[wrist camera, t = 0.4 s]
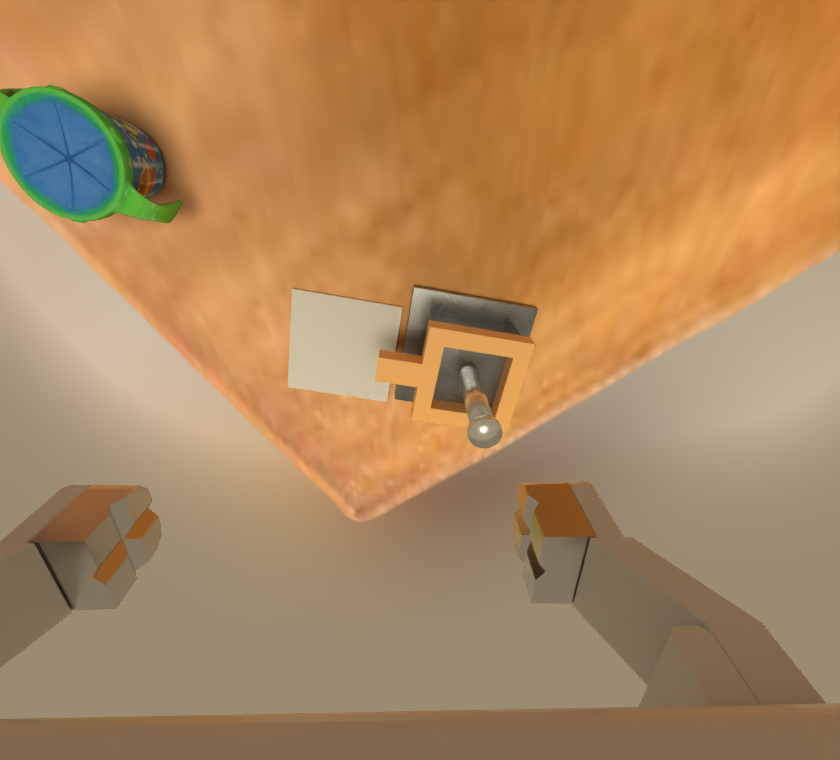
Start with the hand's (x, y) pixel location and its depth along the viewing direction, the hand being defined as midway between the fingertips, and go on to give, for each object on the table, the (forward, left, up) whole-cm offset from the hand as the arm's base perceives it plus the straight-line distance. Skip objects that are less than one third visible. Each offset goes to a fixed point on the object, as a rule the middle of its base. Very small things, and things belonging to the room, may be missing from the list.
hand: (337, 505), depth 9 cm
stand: (+13, +11, -45) cm, 48 cm away
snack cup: (-3, -30, -45) cm, 54 cm away
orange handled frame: (+13, +8, -38) cm, 41 cm away
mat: (+15, -5, -45) cm, 48 cm away
